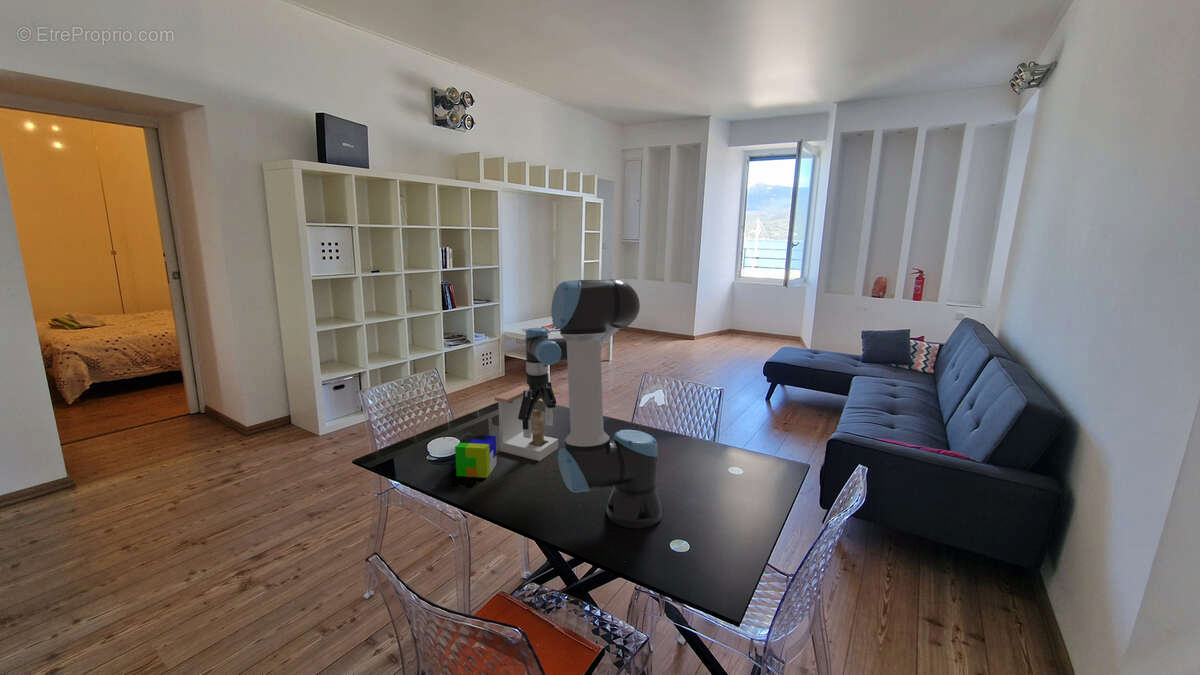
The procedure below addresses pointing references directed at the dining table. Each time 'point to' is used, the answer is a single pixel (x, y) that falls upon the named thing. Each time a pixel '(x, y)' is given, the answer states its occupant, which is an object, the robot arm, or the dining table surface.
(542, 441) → the dowel
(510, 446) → the socket board
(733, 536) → the dining table surface
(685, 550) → the dining table surface
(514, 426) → the wood-topped pedestal
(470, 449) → the puzzle toy
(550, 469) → the dining table surface
